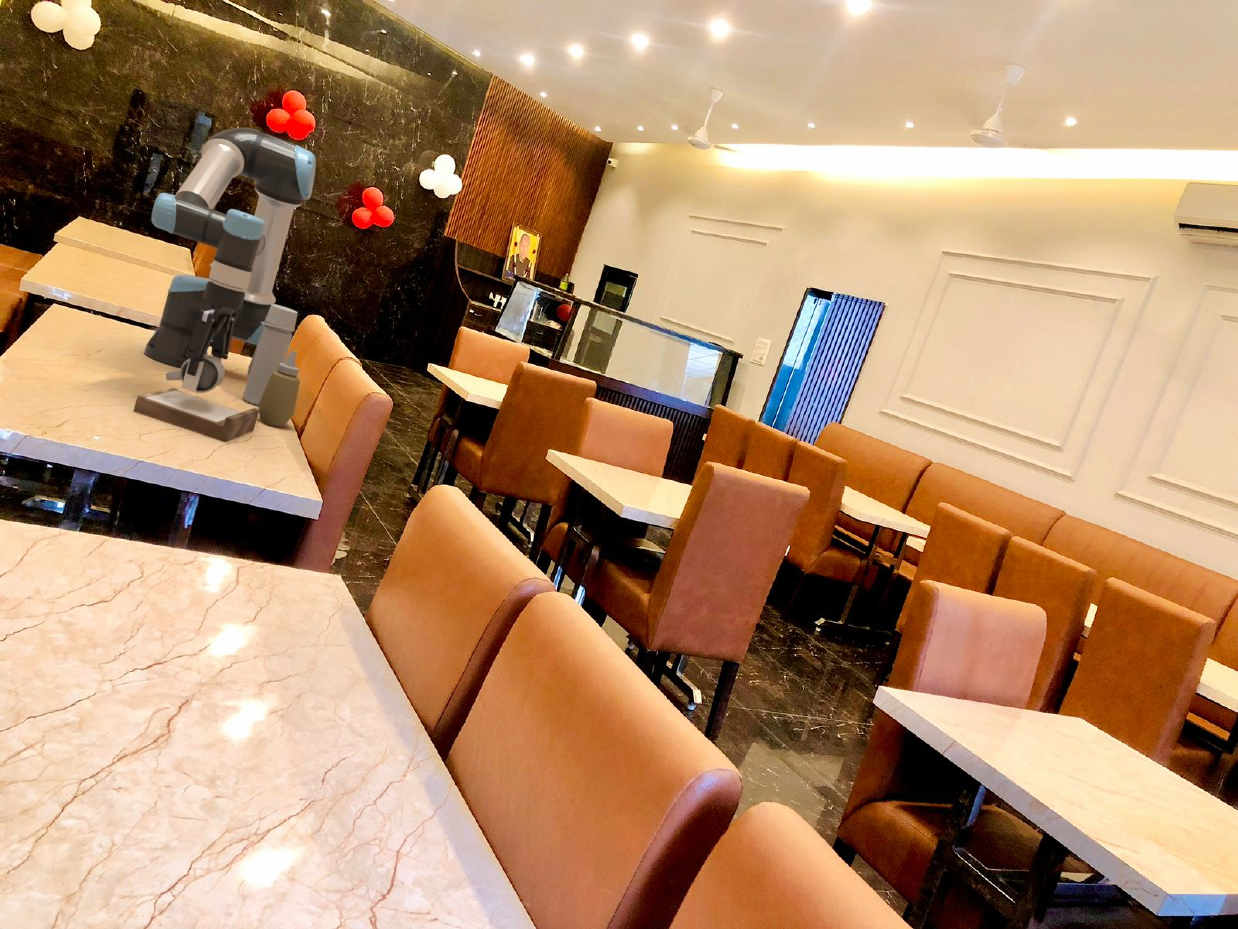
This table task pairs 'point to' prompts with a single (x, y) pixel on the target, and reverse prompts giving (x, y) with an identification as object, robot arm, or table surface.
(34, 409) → the table surface
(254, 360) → the water bottle
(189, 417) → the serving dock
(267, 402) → the squeeze bottle
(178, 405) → the mat
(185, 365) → the ceramic mug
